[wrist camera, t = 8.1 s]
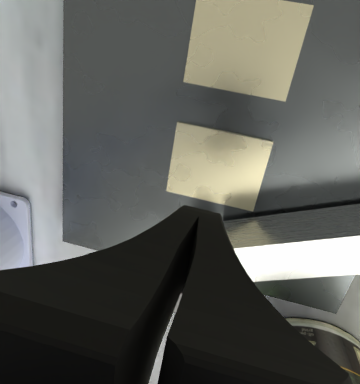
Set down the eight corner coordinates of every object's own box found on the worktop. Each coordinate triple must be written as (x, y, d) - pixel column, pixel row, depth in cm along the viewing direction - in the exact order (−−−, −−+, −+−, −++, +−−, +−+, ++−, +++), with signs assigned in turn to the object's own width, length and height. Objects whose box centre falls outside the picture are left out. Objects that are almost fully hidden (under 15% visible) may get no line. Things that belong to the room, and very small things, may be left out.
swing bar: (180, 226, 19) (168, 255, 16) (503, 185, 14) (561, 215, 12) (188, 254, 19) (178, 287, 17) (498, 223, 15) (553, 260, 12)
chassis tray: (71, 232, 22) (29, 274, 18) (78, -118, 14) (4, -192, 10) (331, 299, 20) (353, 365, 16) (507, -66, 12) (646, -133, 8)
